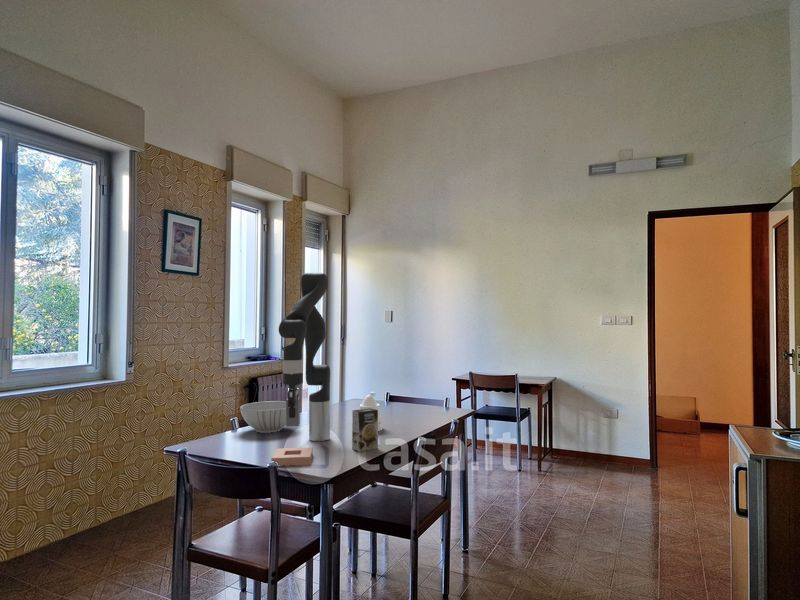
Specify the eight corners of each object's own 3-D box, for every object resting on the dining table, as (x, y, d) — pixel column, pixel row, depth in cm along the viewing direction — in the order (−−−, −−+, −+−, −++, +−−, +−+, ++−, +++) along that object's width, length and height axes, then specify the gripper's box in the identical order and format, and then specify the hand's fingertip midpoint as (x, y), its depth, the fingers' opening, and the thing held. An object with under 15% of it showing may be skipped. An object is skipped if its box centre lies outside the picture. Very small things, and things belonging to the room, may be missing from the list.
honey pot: (384, 426, 257) (383, 390, 258) (380, 432, 244) (380, 394, 245) (358, 426, 258) (358, 390, 259) (354, 431, 245) (353, 394, 246)
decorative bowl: (269, 439, 232) (269, 412, 233) (227, 433, 245) (227, 407, 246) (307, 427, 256) (307, 403, 256) (267, 422, 269) (267, 399, 269)
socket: (276, 456, 203) (276, 448, 203) (312, 455, 204) (312, 447, 204) (271, 466, 189) (271, 458, 189) (309, 465, 190) (309, 456, 190)
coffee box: (359, 452, 208) (359, 412, 208) (351, 449, 213) (351, 409, 214) (378, 448, 213) (378, 409, 214) (370, 445, 218) (370, 407, 219)
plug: (287, 424, 199) (287, 398, 200) (299, 423, 200) (299, 397, 200) (286, 426, 195) (286, 399, 195) (298, 426, 195) (298, 399, 195)
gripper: (285, 370, 205) (285, 413, 204) (280, 373, 190) (280, 420, 190) (304, 369, 205) (304, 412, 205) (300, 373, 191) (301, 419, 190)
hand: (292, 416), depth 197 cm, fingers closed on plug, 4 cm apart
